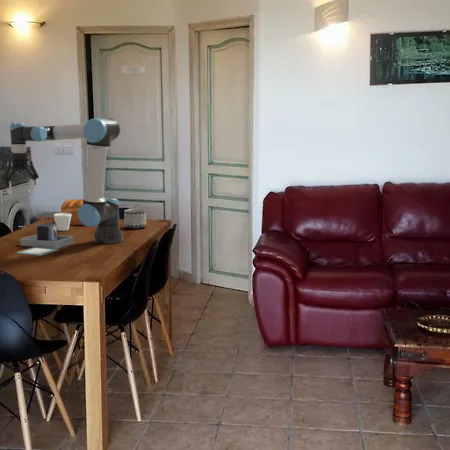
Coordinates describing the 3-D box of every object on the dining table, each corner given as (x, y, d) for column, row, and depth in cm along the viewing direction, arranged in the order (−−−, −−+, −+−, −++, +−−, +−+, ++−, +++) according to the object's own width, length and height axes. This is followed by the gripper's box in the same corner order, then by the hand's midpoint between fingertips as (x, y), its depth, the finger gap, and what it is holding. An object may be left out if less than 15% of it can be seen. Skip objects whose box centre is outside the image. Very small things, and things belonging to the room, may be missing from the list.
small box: (48, 246, 334) (47, 226, 332) (36, 246, 335) (35, 225, 333) (57, 242, 344) (57, 223, 342) (46, 242, 345) (45, 222, 343)
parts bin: (73, 243, 342) (73, 236, 342) (55, 248, 328) (55, 242, 327) (40, 240, 350) (39, 233, 350) (20, 245, 336) (20, 238, 336)
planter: (142, 230, 383) (142, 212, 381) (121, 229, 385) (121, 211, 383) (148, 226, 395) (148, 209, 393) (128, 225, 397) (128, 208, 395)
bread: (65, 221, 412) (64, 197, 409) (106, 222, 409) (106, 197, 407) (58, 225, 398) (57, 200, 395) (100, 226, 396) (100, 200, 393)
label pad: (58, 250, 325) (58, 249, 325) (39, 255, 312) (39, 254, 312) (34, 247, 330) (34, 247, 330) (16, 253, 317) (16, 252, 317)
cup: (55, 232, 374) (54, 216, 373) (53, 229, 383) (52, 213, 382) (73, 231, 378) (72, 215, 376) (70, 228, 387) (70, 212, 386)
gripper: (36, 151, 355) (38, 190, 359) (-7, 153, 337) (-5, 194, 341) (44, 151, 350) (46, 191, 354) (0, 153, 332) (3, 195, 336)
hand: (21, 193), depth 347 cm, fingers open, 13 cm apart
